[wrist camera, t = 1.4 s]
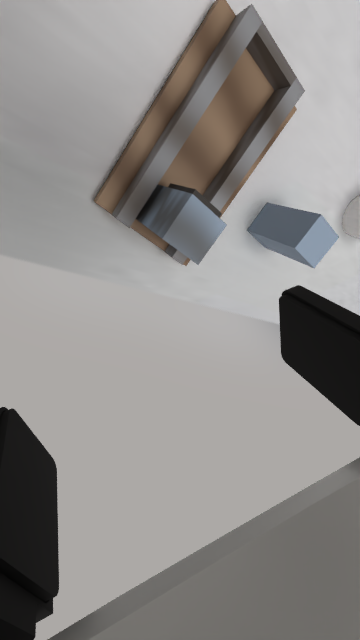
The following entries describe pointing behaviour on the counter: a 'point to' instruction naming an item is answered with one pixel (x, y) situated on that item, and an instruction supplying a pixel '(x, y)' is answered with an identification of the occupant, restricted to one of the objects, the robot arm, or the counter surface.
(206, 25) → the rail
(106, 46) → the counter surface
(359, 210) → the white cup
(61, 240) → the counter surface
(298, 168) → the counter surface
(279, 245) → the blue-grey block
